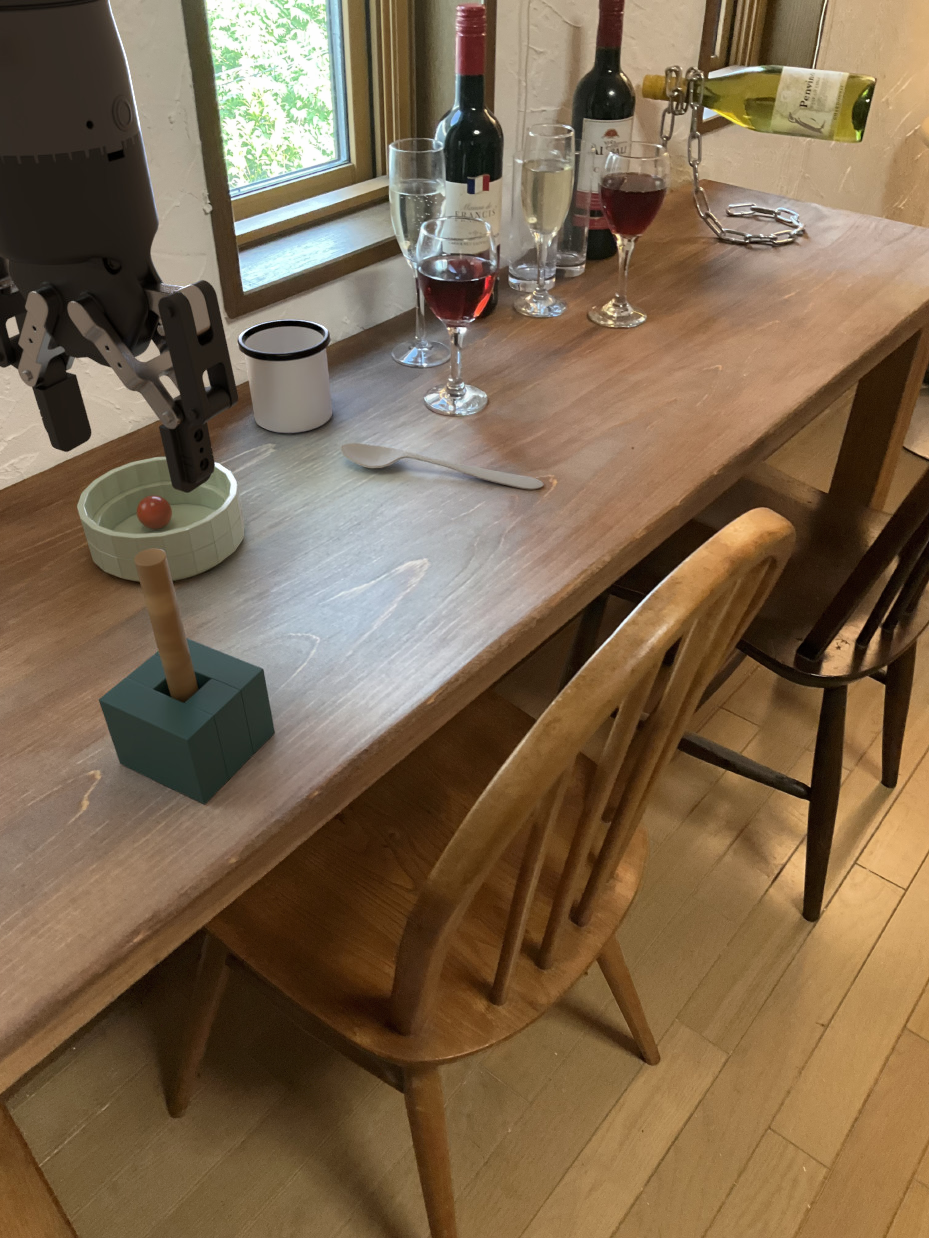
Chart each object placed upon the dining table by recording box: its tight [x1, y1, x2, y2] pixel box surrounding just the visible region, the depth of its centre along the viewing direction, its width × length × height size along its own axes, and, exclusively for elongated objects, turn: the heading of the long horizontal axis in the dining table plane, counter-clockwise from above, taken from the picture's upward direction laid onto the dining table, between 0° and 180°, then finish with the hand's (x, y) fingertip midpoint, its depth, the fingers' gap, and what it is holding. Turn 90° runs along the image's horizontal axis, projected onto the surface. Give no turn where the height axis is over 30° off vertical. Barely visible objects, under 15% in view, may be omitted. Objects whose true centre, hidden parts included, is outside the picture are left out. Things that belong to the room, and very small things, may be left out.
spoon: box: [340, 442, 544, 491], centre depth 94 cm, size 4×21×2 cm, turn 75°
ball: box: [137, 495, 172, 529], centre depth 85 cm, size 3×3×3 cm
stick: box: [134, 549, 199, 703], centre depth 61 cm, size 2×2×16 cm
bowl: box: [76, 456, 246, 583], centre depth 84 cm, size 13×13×5 cm
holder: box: [98, 637, 276, 805], centre depth 64 cm, size 7×7×6 cm
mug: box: [236, 318, 333, 434], centre depth 102 cm, size 12×10×9 cm
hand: (132, 464), depth 51 cm, fingers open, 8 cm apart
